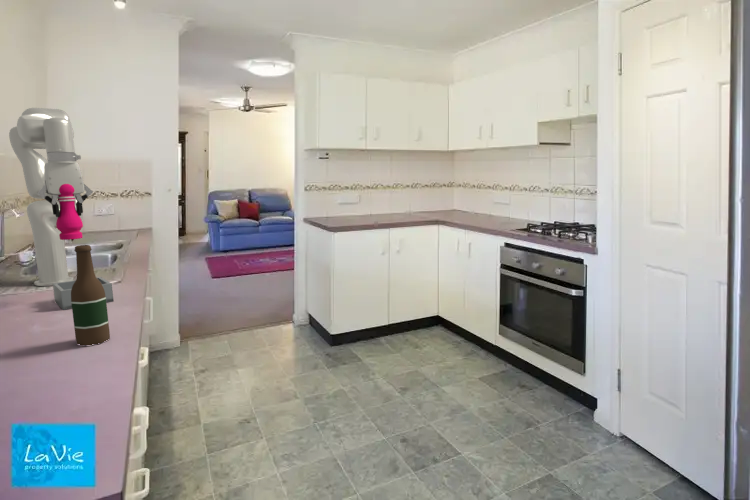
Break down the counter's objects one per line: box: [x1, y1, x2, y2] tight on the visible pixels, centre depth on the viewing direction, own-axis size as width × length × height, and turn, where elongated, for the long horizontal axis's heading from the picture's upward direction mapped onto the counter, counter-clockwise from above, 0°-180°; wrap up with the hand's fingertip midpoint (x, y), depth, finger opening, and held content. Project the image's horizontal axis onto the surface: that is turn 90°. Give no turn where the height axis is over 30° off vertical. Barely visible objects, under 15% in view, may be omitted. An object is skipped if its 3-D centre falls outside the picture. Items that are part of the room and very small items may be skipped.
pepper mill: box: [55, 184, 84, 241], centre depth 152 cm, size 7×7×20 cm
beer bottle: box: [71, 244, 111, 346], centre depth 116 cm, size 8×8×24 cm
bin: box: [52, 276, 114, 311], centre depth 155 cm, size 14×14×6 cm
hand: (68, 215), depth 153 cm, fingers closed on pepper mill, 5 cm apart
